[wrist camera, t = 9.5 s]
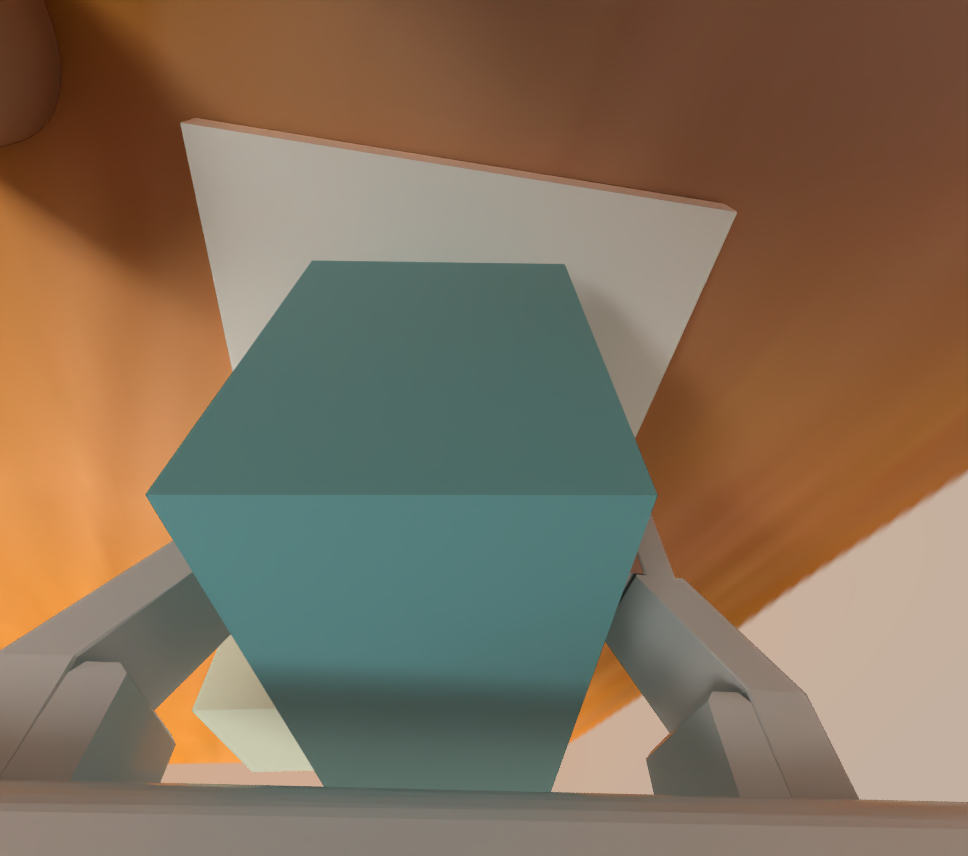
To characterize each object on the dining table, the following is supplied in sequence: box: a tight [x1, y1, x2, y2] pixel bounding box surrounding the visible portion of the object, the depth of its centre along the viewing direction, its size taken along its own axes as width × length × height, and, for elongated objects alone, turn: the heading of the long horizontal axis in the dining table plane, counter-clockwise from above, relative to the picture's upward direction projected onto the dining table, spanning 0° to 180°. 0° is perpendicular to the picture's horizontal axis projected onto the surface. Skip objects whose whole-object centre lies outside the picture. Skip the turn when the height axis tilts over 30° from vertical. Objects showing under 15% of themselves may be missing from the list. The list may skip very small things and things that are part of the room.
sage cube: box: [192, 635, 314, 772], centre depth 16 cm, size 5×5×5 cm
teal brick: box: [146, 260, 657, 792], centre depth 8 cm, size 8×4×5 cm, turn 179°
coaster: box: [180, 118, 737, 438], centre depth 12 cm, size 10×10×1 cm
